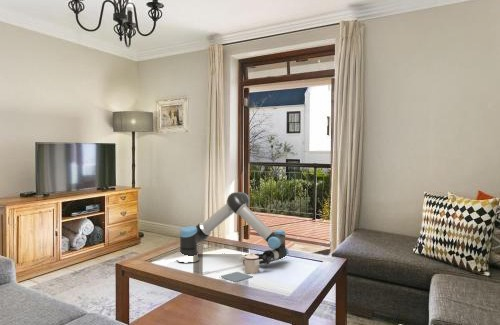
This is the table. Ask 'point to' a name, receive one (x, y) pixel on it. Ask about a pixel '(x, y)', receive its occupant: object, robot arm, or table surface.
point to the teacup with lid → (251, 263)
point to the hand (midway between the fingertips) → (247, 261)
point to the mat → (236, 276)
